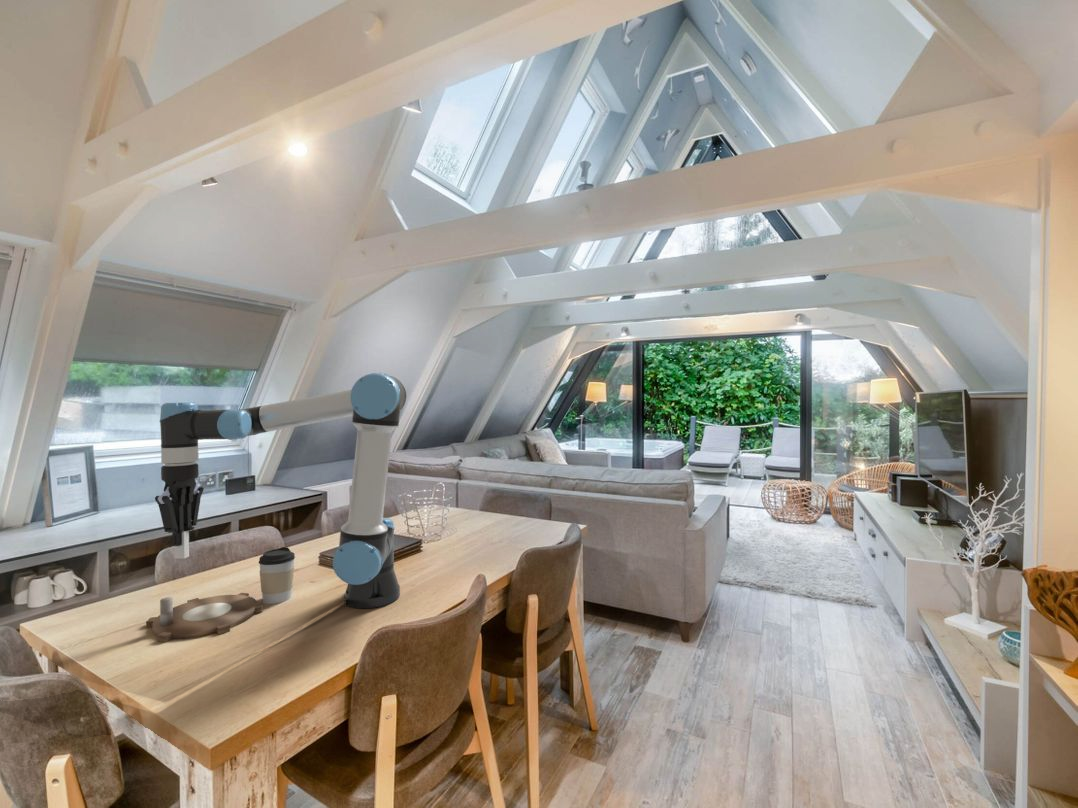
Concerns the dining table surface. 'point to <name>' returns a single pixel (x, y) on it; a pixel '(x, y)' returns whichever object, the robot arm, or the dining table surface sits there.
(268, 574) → the coffee cup
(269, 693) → the dining table surface
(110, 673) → the dining table surface
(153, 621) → the index disc
